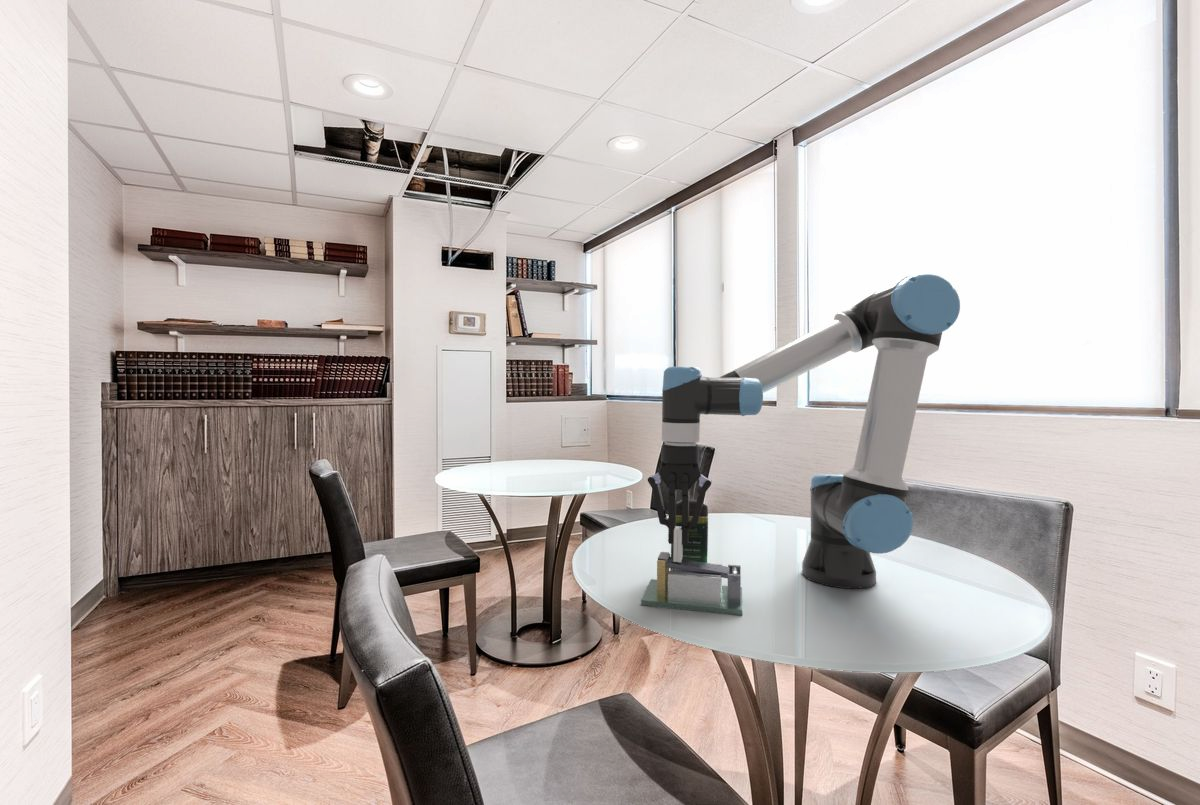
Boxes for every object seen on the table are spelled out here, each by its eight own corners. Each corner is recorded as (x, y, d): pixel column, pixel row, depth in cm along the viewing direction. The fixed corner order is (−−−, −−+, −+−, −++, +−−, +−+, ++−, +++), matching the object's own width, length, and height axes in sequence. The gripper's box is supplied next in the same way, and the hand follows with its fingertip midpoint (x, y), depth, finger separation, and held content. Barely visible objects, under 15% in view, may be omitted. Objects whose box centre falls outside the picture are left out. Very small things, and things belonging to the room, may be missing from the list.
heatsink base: (741, 592, 110) (741, 553, 110) (742, 615, 99) (742, 572, 99) (650, 583, 115) (650, 547, 115) (641, 605, 103) (641, 564, 103)
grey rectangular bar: (728, 571, 107) (729, 564, 107) (728, 578, 103) (729, 570, 103) (659, 559, 110) (660, 552, 110) (657, 565, 107) (657, 557, 107)
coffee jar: (709, 591, 110) (710, 500, 113) (671, 588, 111) (673, 498, 114) (704, 582, 120) (705, 498, 122) (669, 580, 121) (670, 497, 123)
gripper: (714, 443, 109) (711, 557, 109) (651, 440, 112) (648, 551, 113) (712, 446, 102) (709, 569, 102) (644, 443, 105) (642, 562, 106)
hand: (677, 560), depth 107 cm, fingers closed
